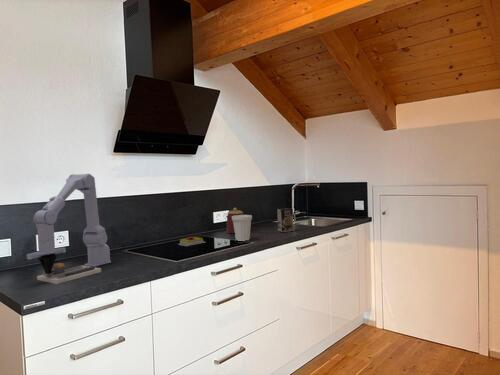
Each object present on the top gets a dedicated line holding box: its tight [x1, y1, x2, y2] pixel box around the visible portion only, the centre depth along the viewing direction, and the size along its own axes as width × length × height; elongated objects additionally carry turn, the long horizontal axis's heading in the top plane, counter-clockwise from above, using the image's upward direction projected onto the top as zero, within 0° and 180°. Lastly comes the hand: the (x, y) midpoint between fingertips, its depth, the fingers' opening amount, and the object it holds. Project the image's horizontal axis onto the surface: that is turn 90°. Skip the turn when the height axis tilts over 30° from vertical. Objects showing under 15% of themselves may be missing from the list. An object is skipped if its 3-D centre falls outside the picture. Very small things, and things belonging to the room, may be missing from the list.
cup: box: [232, 214, 253, 241], centre depth 222 cm, size 12×12×15 cm
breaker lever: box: [53, 262, 65, 275], centre depth 151 cm, size 3×3×4 cm
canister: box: [225, 207, 244, 234], centre depth 257 cm, size 13×13×18 cm
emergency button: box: [177, 236, 206, 247], centre depth 221 cm, size 9×4×15 cm
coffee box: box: [276, 208, 294, 232], centre depth 251 cm, size 9×6×16 cm
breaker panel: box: [36, 263, 102, 285], centre depth 155 cm, size 20×14×3 cm
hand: (48, 273), depth 147 cm, fingers closed
